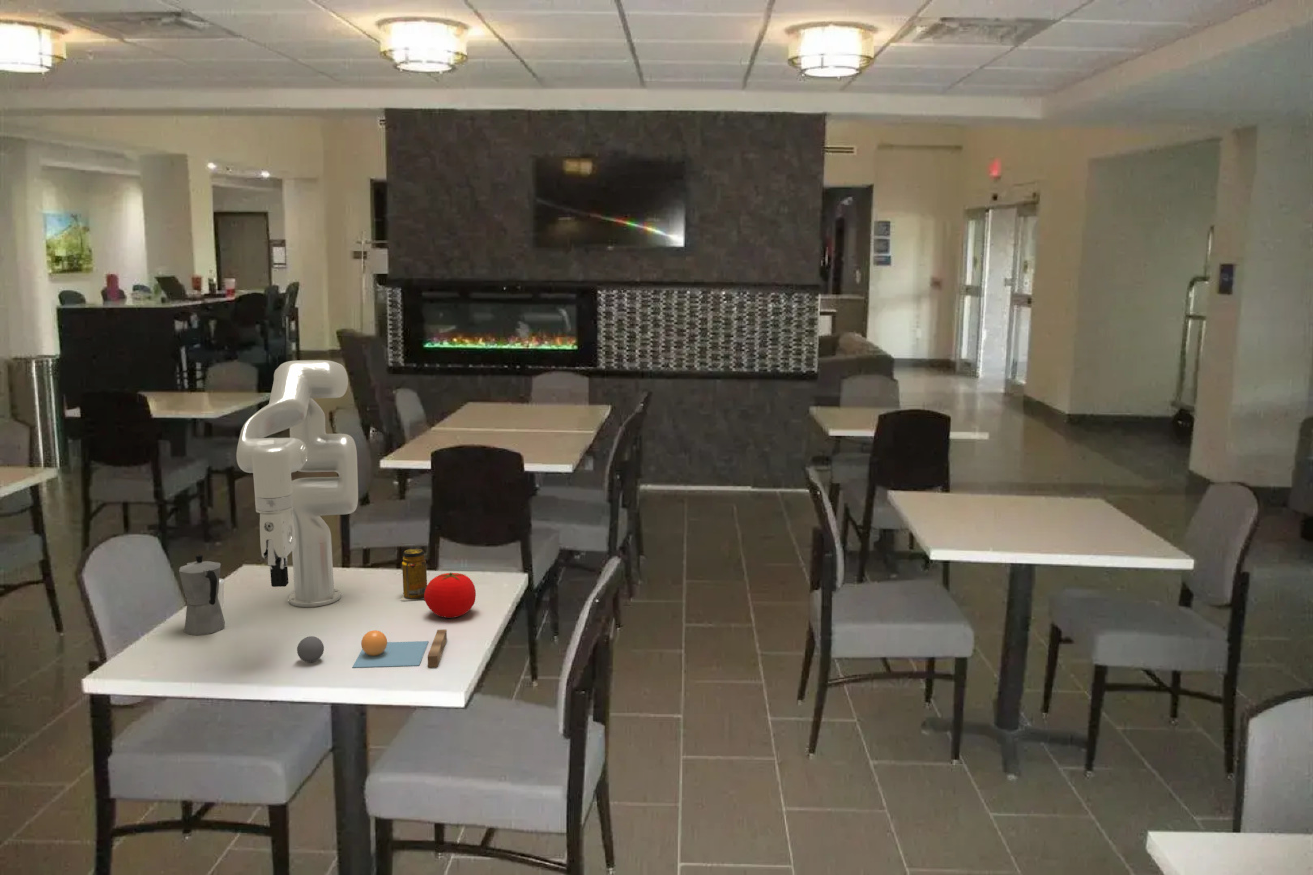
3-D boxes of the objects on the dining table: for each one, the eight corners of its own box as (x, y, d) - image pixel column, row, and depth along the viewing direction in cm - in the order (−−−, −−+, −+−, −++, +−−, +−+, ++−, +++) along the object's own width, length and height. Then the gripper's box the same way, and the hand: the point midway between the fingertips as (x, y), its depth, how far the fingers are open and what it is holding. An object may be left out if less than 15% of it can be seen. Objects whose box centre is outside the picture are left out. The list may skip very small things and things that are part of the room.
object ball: (387, 625, 229) (391, 648, 230) (362, 628, 229) (366, 652, 230) (382, 634, 224) (386, 657, 225) (356, 637, 223) (361, 661, 224)
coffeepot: (174, 626, 245) (168, 552, 242) (214, 616, 251) (209, 545, 248) (198, 643, 234) (191, 567, 231) (239, 633, 240) (234, 558, 237)
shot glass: (196, 615, 253) (194, 587, 251) (196, 606, 259) (194, 579, 258) (226, 611, 255) (224, 583, 254) (225, 602, 262) (223, 576, 260)
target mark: (365, 643, 234) (365, 642, 234) (428, 641, 235) (428, 641, 235) (352, 667, 220) (352, 667, 220) (419, 665, 221) (419, 665, 221)
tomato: (467, 624, 246) (466, 581, 244) (418, 621, 248) (416, 579, 246) (482, 608, 257) (481, 567, 255) (435, 605, 259) (434, 565, 257)
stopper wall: (437, 640, 236) (437, 629, 236) (446, 639, 236) (446, 629, 236) (428, 667, 220) (427, 656, 220) (437, 667, 220) (437, 656, 220)
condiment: (403, 592, 270) (401, 548, 268) (436, 590, 271) (434, 546, 269) (401, 601, 263) (398, 556, 260) (435, 599, 264) (433, 554, 262)
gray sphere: (325, 633, 223) (331, 649, 226) (302, 629, 224) (308, 644, 228) (312, 653, 219) (319, 669, 222) (289, 649, 220) (295, 665, 223)
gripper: (282, 511, 213) (288, 596, 216) (301, 494, 227) (306, 574, 231) (245, 512, 212) (251, 597, 216) (266, 494, 227) (272, 574, 230)
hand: (280, 585), depth 223 cm, fingers closed
